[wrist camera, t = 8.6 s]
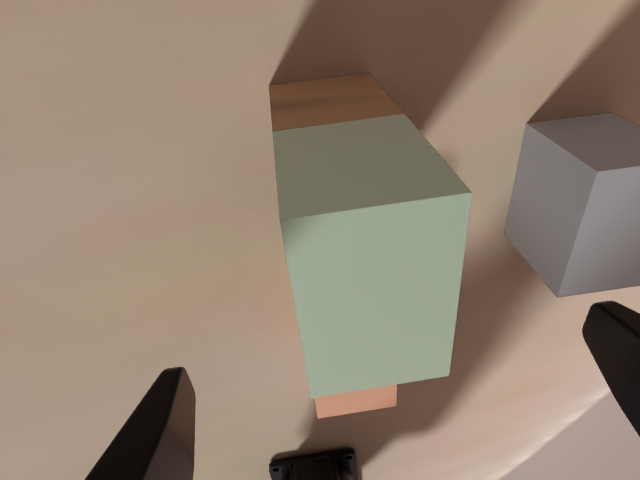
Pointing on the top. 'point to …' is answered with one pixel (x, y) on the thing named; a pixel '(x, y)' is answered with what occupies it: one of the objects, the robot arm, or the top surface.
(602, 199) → the grey brick
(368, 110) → the walnut brick
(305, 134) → the sage brick
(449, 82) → the top surface
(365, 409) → the terracotta brick
